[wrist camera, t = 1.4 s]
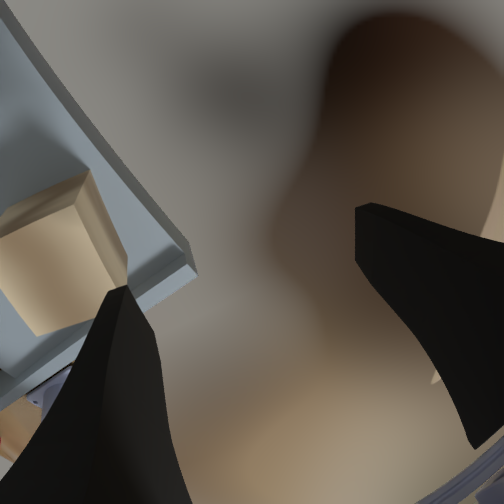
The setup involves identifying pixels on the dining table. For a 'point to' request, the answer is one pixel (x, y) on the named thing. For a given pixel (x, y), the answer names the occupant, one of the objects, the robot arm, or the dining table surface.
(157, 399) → the robot arm
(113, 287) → the block
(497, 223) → the dining table surface
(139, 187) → the trap box
